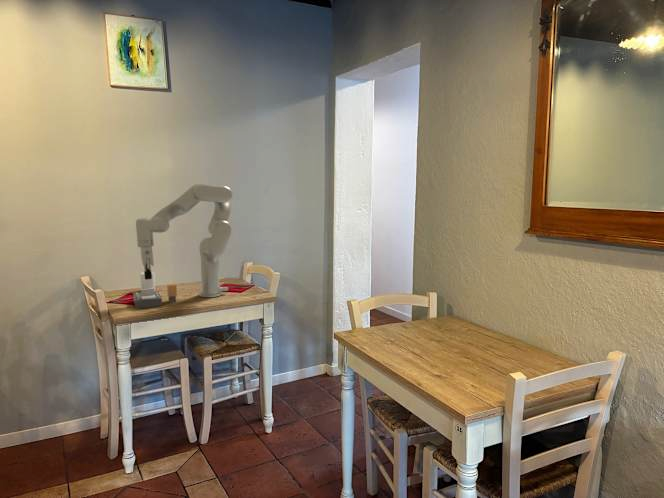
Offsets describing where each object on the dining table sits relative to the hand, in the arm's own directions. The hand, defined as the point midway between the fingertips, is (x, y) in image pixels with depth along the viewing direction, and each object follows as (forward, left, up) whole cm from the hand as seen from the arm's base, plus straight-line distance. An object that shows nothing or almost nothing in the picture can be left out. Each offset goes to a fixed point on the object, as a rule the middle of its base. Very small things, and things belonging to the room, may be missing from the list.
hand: (148, 278), depth 244 cm
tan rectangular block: (-11, +1, -12) cm, 17 cm away
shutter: (+1, +7, -8) cm, 11 cm away
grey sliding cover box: (+1, +1, -12) cm, 12 cm away
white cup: (-2, -27, -13) cm, 29 cm away
